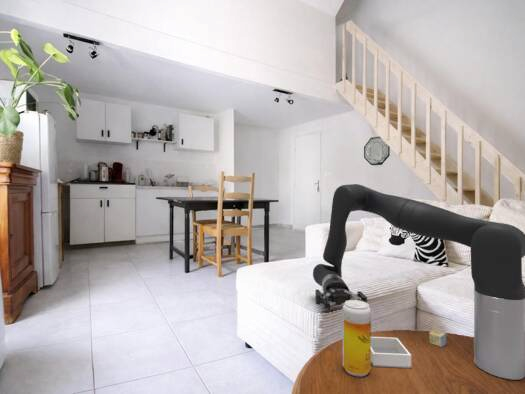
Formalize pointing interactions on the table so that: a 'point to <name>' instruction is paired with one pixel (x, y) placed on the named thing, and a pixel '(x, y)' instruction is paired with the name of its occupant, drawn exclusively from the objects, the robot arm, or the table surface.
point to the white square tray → (389, 353)
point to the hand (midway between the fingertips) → (345, 307)
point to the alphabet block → (437, 338)
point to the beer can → (356, 337)
